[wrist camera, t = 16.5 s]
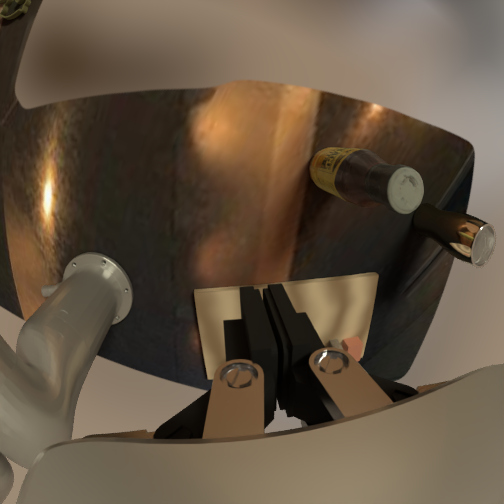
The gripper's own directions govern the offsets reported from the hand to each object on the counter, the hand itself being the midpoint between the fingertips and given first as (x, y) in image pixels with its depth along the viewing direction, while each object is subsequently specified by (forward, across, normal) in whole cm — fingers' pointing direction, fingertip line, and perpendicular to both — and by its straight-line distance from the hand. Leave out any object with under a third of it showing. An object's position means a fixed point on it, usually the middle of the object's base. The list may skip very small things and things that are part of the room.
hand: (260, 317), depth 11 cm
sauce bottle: (+29, -14, -4) cm, 33 cm away
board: (+29, -9, +22) cm, 38 cm away
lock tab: (+28, -20, +27) cm, 44 cm away
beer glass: (+29, -34, +4) cm, 45 cm away
